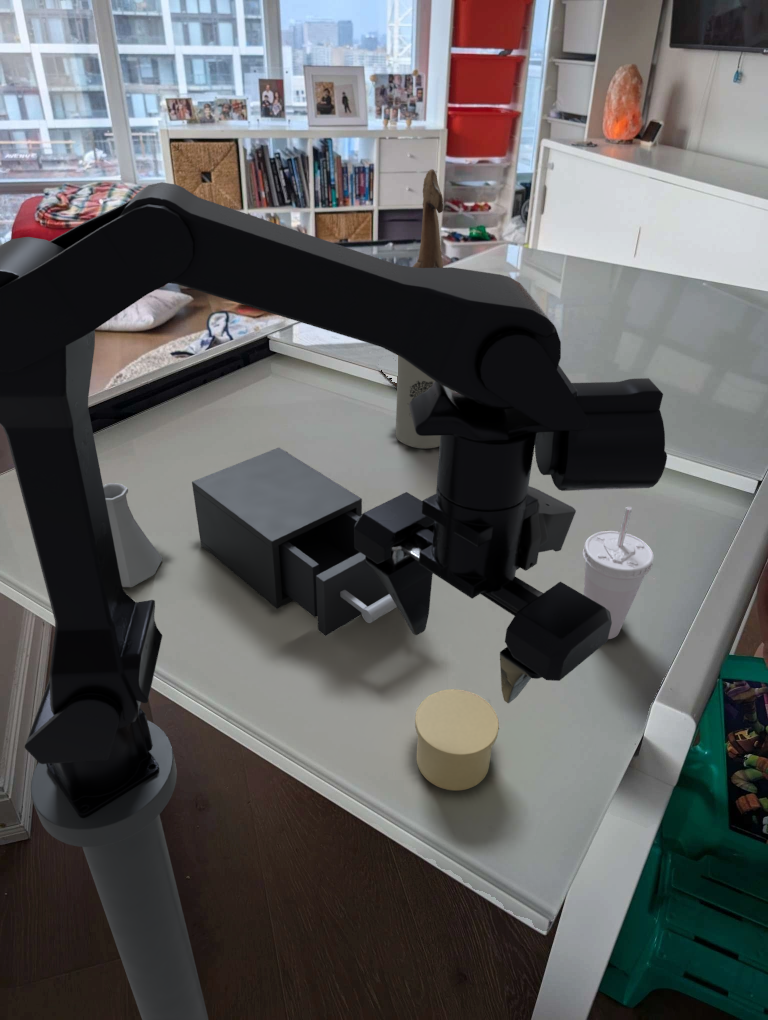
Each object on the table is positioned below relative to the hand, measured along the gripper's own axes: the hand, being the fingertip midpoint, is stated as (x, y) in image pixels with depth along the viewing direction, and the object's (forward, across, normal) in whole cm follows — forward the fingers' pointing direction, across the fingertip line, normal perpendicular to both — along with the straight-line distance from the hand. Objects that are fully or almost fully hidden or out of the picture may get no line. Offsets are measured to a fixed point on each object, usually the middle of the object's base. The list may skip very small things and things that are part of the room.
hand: (462, 663), depth 56 cm
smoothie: (+11, +1, -23) cm, 26 cm away
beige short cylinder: (+11, 0, 0) cm, 11 cm away
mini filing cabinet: (+11, +32, -6) cm, 34 cm away
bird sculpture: (+11, +56, -52) cm, 77 cm away
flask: (+11, +41, +8) cm, 43 cm away
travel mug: (+11, +41, -38) cm, 57 cm away
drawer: (+10, +22, -6) cm, 25 cm away
